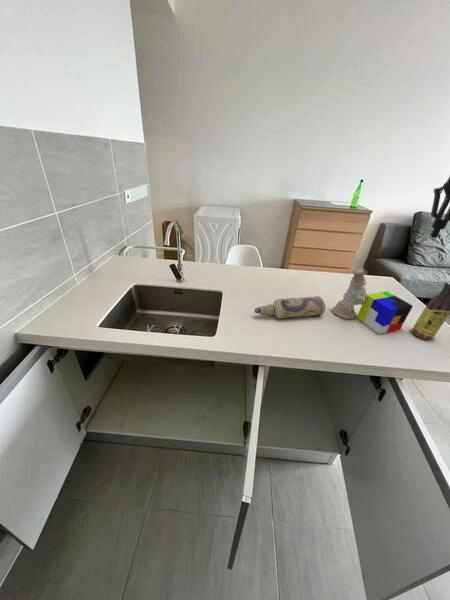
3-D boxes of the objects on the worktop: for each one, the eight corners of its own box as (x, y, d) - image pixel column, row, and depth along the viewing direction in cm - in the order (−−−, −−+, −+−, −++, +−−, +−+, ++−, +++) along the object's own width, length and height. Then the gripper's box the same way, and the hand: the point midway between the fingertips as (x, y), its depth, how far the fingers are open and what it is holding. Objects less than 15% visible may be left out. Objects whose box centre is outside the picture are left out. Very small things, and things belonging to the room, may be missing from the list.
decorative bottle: (313, 307, 96) (317, 292, 92) (323, 318, 89) (328, 303, 86) (250, 311, 91) (252, 296, 88) (256, 323, 85) (258, 307, 81)
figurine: (338, 320, 89) (356, 270, 78) (328, 307, 96) (343, 260, 85) (361, 320, 89) (382, 271, 79) (350, 307, 96) (367, 261, 86)
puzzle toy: (378, 334, 83) (390, 310, 78) (356, 317, 91) (366, 294, 86) (400, 329, 86) (412, 305, 81) (376, 313, 94) (387, 291, 89)
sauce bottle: (418, 340, 81) (450, 288, 71) (407, 328, 86) (435, 278, 76) (437, 341, 81) (472, 289, 71) (425, 329, 86) (456, 280, 76)
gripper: (447, 166, 81) (415, 236, 93) (497, 169, 76) (456, 242, 89) (441, 166, 87) (411, 231, 99) (488, 168, 82) (450, 237, 95)
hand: (433, 236), depth 94 cm, fingers closed
